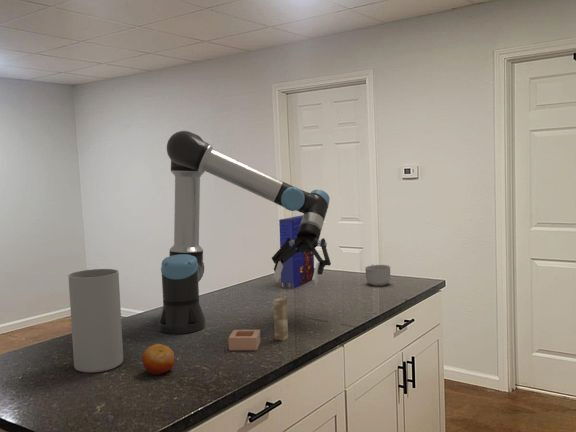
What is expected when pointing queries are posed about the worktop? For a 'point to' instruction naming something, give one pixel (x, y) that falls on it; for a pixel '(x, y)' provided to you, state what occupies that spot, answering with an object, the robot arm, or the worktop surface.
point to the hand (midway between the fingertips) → (294, 281)
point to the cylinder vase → (96, 320)
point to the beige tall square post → (280, 319)
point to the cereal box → (295, 257)
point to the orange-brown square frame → (244, 340)
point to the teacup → (378, 274)
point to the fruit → (158, 359)
